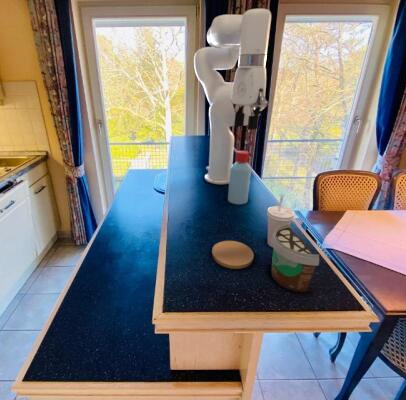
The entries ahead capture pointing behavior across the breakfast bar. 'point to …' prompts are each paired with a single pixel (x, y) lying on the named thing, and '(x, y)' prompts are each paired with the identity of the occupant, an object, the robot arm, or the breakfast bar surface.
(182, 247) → the breakfast bar surface
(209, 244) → the breakfast bar surface
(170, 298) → the breakfast bar surface
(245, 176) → the bottle
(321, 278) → the breakfast bar surface
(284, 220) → the smoothie
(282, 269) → the food container
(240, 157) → the cap
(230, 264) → the coaster
